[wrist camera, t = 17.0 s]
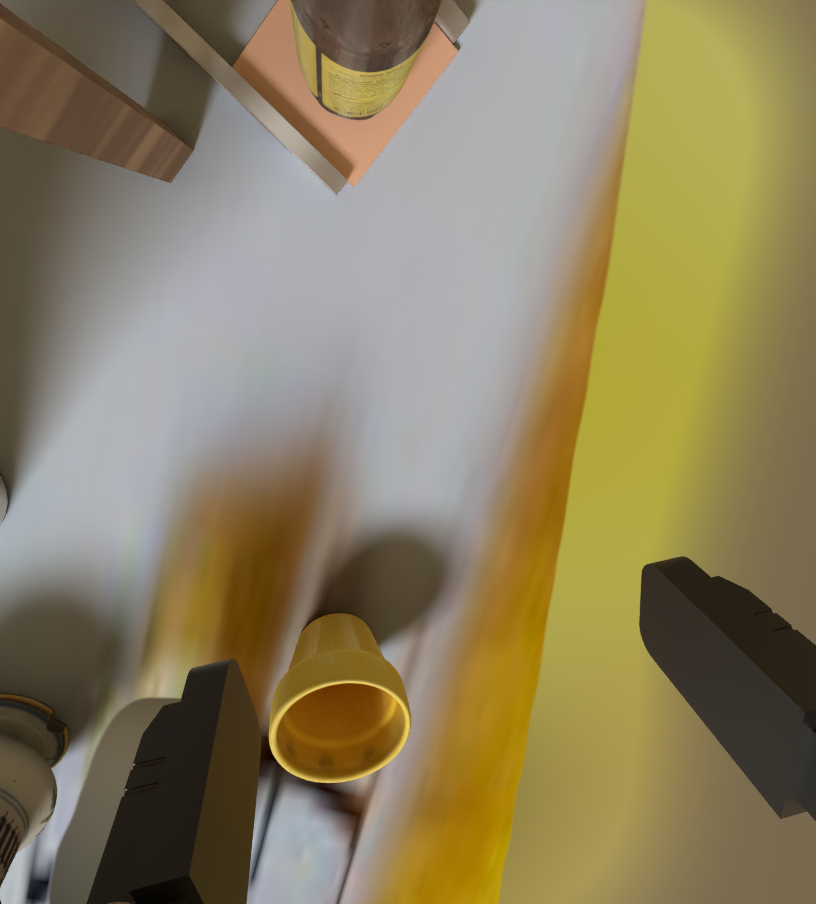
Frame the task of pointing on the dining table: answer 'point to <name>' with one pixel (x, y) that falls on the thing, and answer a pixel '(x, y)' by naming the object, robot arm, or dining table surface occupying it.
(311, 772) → the plant pot
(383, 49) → the sauce bottle
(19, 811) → the apothecary jar
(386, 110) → the pad
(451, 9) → the frame
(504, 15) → the dining table surface
